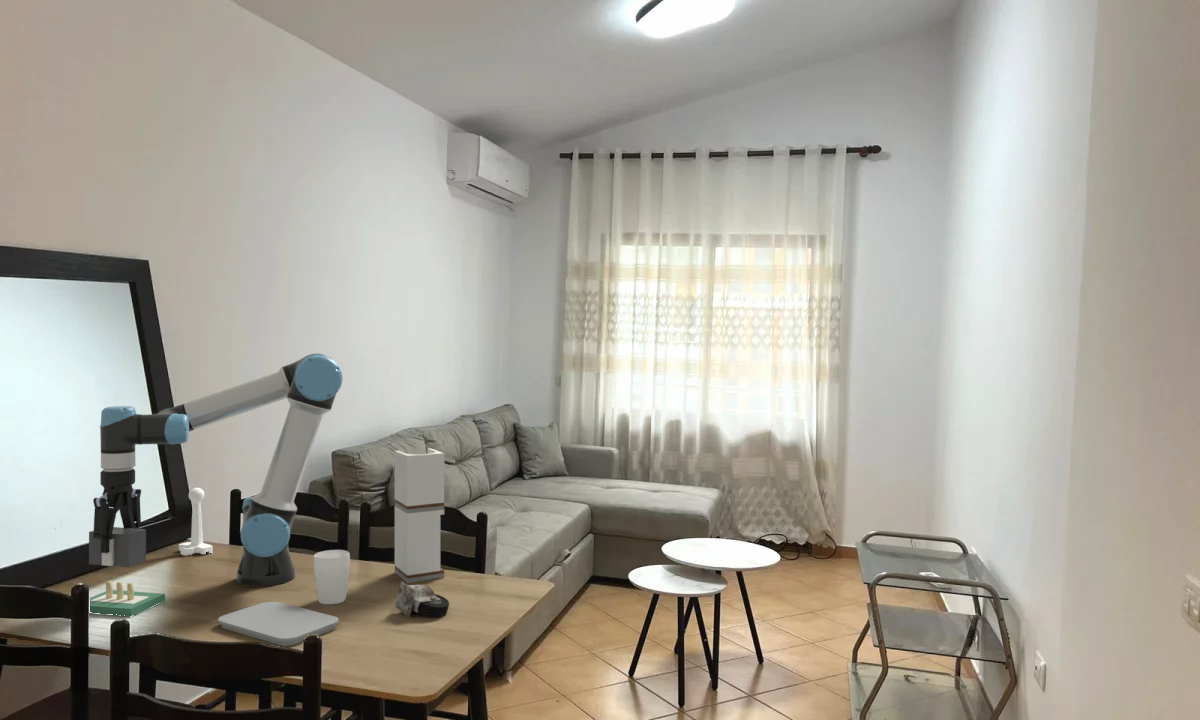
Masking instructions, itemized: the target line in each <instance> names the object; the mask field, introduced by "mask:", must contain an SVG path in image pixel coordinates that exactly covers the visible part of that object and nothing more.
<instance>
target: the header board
mask: <svg viewBox="0 0 1200 720" xmlns="http://www.w3.org/2000/svg"><path fill="white" fill-rule="evenodd" d="M126 586H127V590H124V582H123V581H118V582H116V589H113V581H112V580H109V581H106V582H105V591H103V592H101V593H98V594H95V595H94V596H91V597H89V598H90V612H92V613H100V614H113V615H116V614H117V615H121V616H120V617H124V615H125V616H132V615H135V614H137V615H139V614H141V613H143V612H142V611H144V610H146V609H148V608H150V607H152V606H154V605H156V604H158V603H161V602H163V601H165V602H166V593H163V592H162V593H160V592H145V591H135V588H134V587H135V583H134V582H128V583H127V585H126ZM163 603H164V602H163ZM161 604H162V603H161ZM156 606H157V605H156ZM154 607H155V606H154ZM152 608H153V607H152ZM150 609H151V608H150ZM148 610H149V609H148ZM146 611H147V610H146ZM140 612H141V613H140ZM144 612H145V611H144ZM138 613H139V614H138ZM135 616H136V615H135Z"/></svg>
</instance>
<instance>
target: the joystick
mask: <svg viewBox="0 0 1200 720" xmlns="http://www.w3.org/2000/svg"><path fill="white" fill-rule="evenodd" d="M204 498H205V491H204V490H203V489H202V488H201V487H194V488H192V489H190V491H189V492H188V499H189V500H190V501H191V503H192V511H191V513H192V514H191V516H192V517H191V534H190V535H191V537H190V538H191V539H190V541H186V542H183V543H179V544H178V551H180V555H182V556H184V557H187V556H188V555H190V556H193V555H194V554H200V555H206V554H208V555H211V554H210V553H212V554H213V545H212V544H208V543H205V542H204V538H203V537H204V536H203V525H202V524H203V523H202V522H203V521H202V520H203V518H202V504H201V503H202V501H203V500H204ZM206 552H207V553H206ZM192 554H193V555H192Z"/></svg>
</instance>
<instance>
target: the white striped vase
mask: <svg viewBox="0 0 1200 720" xmlns="http://www.w3.org/2000/svg"><path fill="white" fill-rule="evenodd" d="M441 515H443V516H444V515H445V452H442V451H439V450H437V449H433V448H431V447H430V448H427V453H425V454H424V453H422V454H419V453H418V454H414V453H405V452H402V451H401V450H398V449H397V450H394V573H395V574H396V575H397V576H399V578H401V579H402V580H403V582H404V581H405V582H406V583H407V584H408V583H416V582H423V581H429V580H436V579H441V578H445V570H444V568H443V567H441Z"/></svg>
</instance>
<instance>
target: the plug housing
mask: <svg viewBox="0 0 1200 720" xmlns="http://www.w3.org/2000/svg"><path fill="white" fill-rule="evenodd" d="M93 532H94V530H91V531H89V532H88V565H92V566H93V565H94V566H103V565H102V553H101V540H100V539H97V538H94V537H93ZM111 539H114V565H113V566H112V567H121V568H131V567H134V566H137V565H140V564H142V563H144V562H146V561H147V559H146V558H147V557H146V556H147V529H146V528H145V529H144V528H139V529H135V528H124V527H121V526H120V527H117V526H114V527H113V531H112V536H111Z"/></svg>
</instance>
